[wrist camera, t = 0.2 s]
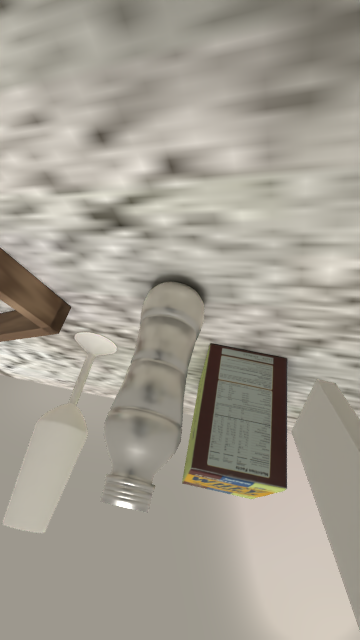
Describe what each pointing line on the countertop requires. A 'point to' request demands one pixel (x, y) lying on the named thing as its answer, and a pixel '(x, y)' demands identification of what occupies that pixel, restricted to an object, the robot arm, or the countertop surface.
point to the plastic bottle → (152, 395)
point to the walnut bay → (27, 303)
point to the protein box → (239, 424)
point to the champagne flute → (53, 451)
